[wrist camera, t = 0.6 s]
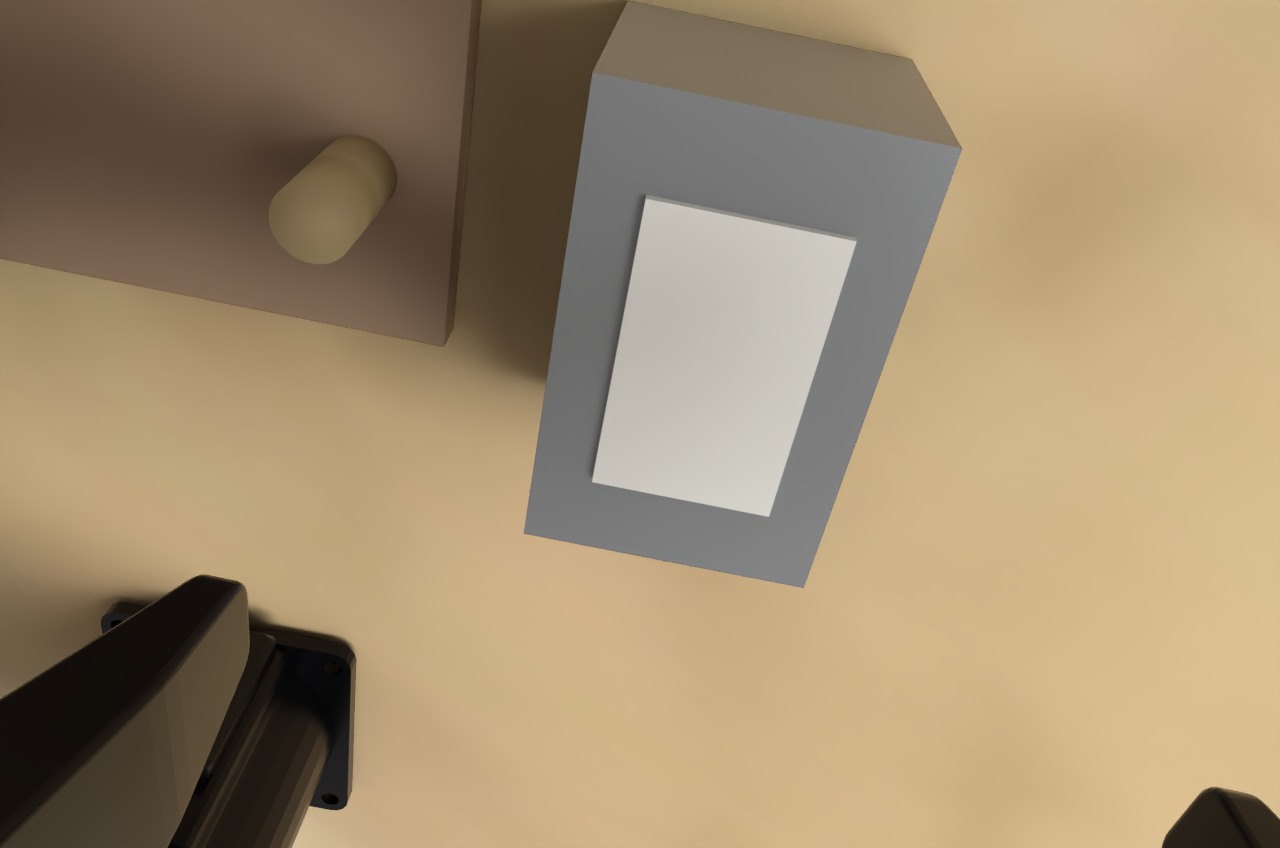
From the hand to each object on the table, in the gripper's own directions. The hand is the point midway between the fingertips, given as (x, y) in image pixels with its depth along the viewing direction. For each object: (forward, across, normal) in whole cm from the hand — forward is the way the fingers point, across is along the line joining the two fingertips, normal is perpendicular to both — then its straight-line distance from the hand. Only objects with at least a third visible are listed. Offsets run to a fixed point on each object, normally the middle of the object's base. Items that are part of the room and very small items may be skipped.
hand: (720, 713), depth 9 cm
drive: (+12, 0, +1) cm, 12 cm away
